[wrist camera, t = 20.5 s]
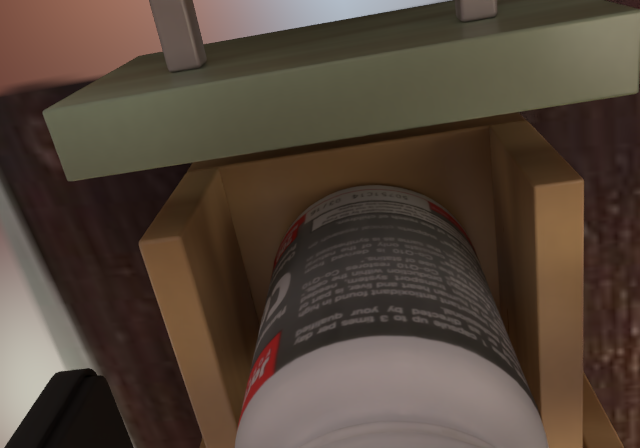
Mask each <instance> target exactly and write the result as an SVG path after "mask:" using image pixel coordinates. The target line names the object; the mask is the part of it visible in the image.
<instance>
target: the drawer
mask: <svg viewBox="0 0 640 448" xmlns="http://www.w3.org/2000/svg"><path fill="white" fill-rule="evenodd" d="M149 2H150V6H151V9H152V13H153V17H154V20H155V24H156V28H157V31H158V35H159V39H160V42H161V46H162V49H163V52H158V53H153V54H147V55H142V56H138V57H136V58H135V59H133V60H131V61H129V62H128V63H126V64H124V65H123V66H121V67H119V68H117V69H116V70H114V71H112V72H110V73H108V74H107V75H105V76H103V77H101V78H100V79H98V80H96V81H94V82H93V83H91V84H89V85H87V86H86V87H84V88H82V89H80V90H78V91H77V92H75V93H73V94H71V95H70V96H68V97H66V98H64V99H63V100H61V101H59V102H57V103H56V104H54V105H52V106H50V107H49V108H47V109H45V110H44V111H43V116H44V118H45V121H46V124H47V127H48V129H49V132H50V135H51V137H52V140H53V143H54V145H55V148H56V151H57V154H58V156H59V159H60V162H61V164H62V167H63V170H64V173H65V175H66V178H67V180H68V181H77V180H83V179H90V178H96V177H103V176H109V175H115V174H122V173H128V172H135V171H141V170H148V169H154V168H161V167H167V166H174V165H180V164H186V163H192V165H191V166H190V168H189V169H188V171H187V173H186V174H185V175H184V177H183V178H182V180H181V181H180V183H179V184H178V185H177V187H176V188H175V190H174V191H173V193H172V194H171V196H170V197H169V199H168V200H167V201H166V203H165V204H164V206H163V207H162V209H161V210H160V212H159V213H158V214H157V216H156V217H155V219H154V220H153V222H152V223H151V225H150V226H149V228H148V229H147V230H146V232H145V233H144V235H143V236H142V238H141V239H140V241H139V248H140V251H141V254H142V257H143V260H144V263H145V266H146V269H147V272H148V275H149V278H150V281H151V284H152V287H153V290H154V293H155V296H156V299H157V302H158V305H159V308H160V311H161V314H162V317H163V320H164V323H165V326H166V329H167V332H168V335H169V338H170V341H171V344H172V347H173V350H174V353H175V356H176V359H177V362H178V365H179V368H180V371H181V374H182V377H183V380H184V383H185V386H186V389H187V392H188V395H189V398H190V401H191V404H192V407H193V410H194V413H195V416H196V419H197V422H198V425H199V428H200V431H201V434H202V437H203V440H204V443H205V446H206V448H235V440H236V435H237V428H238V423H239V418H240V415H241V411H242V405H243V400H244V396H245V392H246V387H247V383H248V379H249V374H250V370H251V366H252V361H253V356H254V352H255V348H256V343H257V339H258V335H259V330H260V325H261V320H262V317H263V313H264V308H265V304H266V299H267V294H268V289H269V285H270V280H271V275H272V271H273V265H274V260H275V257H276V255H277V252H278V249H279V246H280V244H281V242H282V240H283V237H284V235H285V234H286V232H287V230H288V229H289V228H290V226H291V225H292V224H293V222H294V221H295V220H296V219H297V218H298V216H300V215H301V214H302V213H303V212H304V211H305V210H306V209H307V208H308V207H310V206H311V205H313V204H314V203H316V202H317V201H319V200H320V199H322V198H324V197H326V196H328V195H330V194H332V193H335V192H337V191H340V190H343V189H347V188H352V187H357V186H366V185H382V186H392V187H398V188H403V189H407V190H411V191H414V192H417V193H420V194H422V195H425V196H427V197H429V198H430V199H432V200H434V201H435V202H437V203H439V204H440V205H441V206H443V207H444V208H445V209H447V210H448V211H449V212H450V213H451V214H452V215H453V216H454V217H455V218H456V220H457V221H458V222H459V223H460V225H461V226H462V227H463V229H464V230H465V232H466V233H467V235H468V237H469V239H470V241H471V243H472V245H473V247H474V249H475V251H476V254H477V257H478V259H479V262H480V265H481V268H482V270H483V273H484V275H485V278H486V281H487V283H488V286H489V289H490V291H491V293H492V296H493V298H494V301H495V304H496V306H497V309H498V311H499V314H500V316H501V319H502V321H503V324H504V326H505V329H506V331H507V334H508V336H509V339H510V341H511V344H512V346H513V349H514V351H515V354H516V356H517V359H518V361H519V364H520V366H521V369H522V371H523V374H524V376H525V379H526V381H527V384H528V386H529V389H530V391H531V394H532V396H533V398H534V400H535V403H536V405H537V408H538V411H539V414H540V417H541V420H542V424H543V427H544V430H545V433H546V437H547V441H548V447H549V448H583V276H584V180H583V178H582V177H581V176H580V175H579V174H578V173H577V172H576V171H575V170H574V169H573V168H572V167H571V166H570V165H569V164H568V163H567V162H566V161H565V160H564V158H563V157H562V156H561V155H560V154H559V153H558V152H557V151H556V150H555V149H554V148H553V147H552V146H551V145H550V144H549V143H548V142H547V141H546V140H545V139H544V138H543V137H542V136H541V135H540V134H539V132H538V131H537V130H536V129H535V128H534V127H533V126H532V125H531V124H530V123H529V122H528V121H526V120H525V119H524V118H523V116H522V115H521V114H520V113H519V112H522V111H529V110H535V109H542V108H548V107H554V106H561V105H567V104H574V103H580V102H587V101H593V100H600V99H606V98H613V97H619V96H625V95H632V94H636V93H638V91H639V71H640V9H637V8H633V7H629V6H625V5H621V4H617V3H613V2H609V1H605V0H452V1H447V2H441V3H435V4H430V5H424V6H418V7H413V8H407V9H401V10H396V11H390V12H384V13H379V14H373V15H368V16H362V17H356V18H351V19H345V20H339V21H334V22H328V23H322V24H317V25H311V26H306V27H300V28H294V29H288V30H283V31H277V32H271V33H266V34H260V35H255V36H249V37H243V38H238V39H232V40H226V41H221V42H215V43H209V44H204V45H203V41H202V37H201V33H200V29H199V25H198V21H197V17H196V13H195V9H194V4H193V1H192V0H149Z"/></svg>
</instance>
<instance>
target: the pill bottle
mask: <svg viewBox="0 0 640 448" xmlns="http://www.w3.org/2000/svg"><path fill="white" fill-rule="evenodd" d="M235 448H549V447H548V441H547V437H546V433H545V430H544V427H543V424H542V420H541V417H540V414H539V411H538V408H537V405H536V403H535V400H534V398H533V396H532V394H531V391H530V389H529V386H528V384H527V381H526V379H525V376H524V374H523V371H522V369H521V366H520V364H519V361H518V359H517V356H516V354H515V351H514V349H513V346H512V344H511V341H510V339H509V336H508V334H507V331H506V329H505V326H504V324H503V321H502V319H501V316H500V314H499V311H498V309H497V306H496V304H495V301H494V298H493V296H492V293H491V291H490V289H489V286H488V283H487V281H486V278H485V275H484V273H483V270H482V268H481V265H480V262H479V259H478V257H477V254H476V251H475V249H474V247H473V245H472V243H471V241H470V239H469V237H468V235H467V233H466V232H465V230H464V229H463V227H462V226H461V225H460V223H459V222H458V221H457V220H456V218H455V217H454V216H453V215H452V214H451V213H450V212H449V211H448V210H447V209H445V208H444V207H443V206H441V205H440V204H439V203H437V202H435V201H434V200H432V199H430V198H429V197H427V196H425V195H422V194H420V193H417V192H414V191H411V190H407V189H403V188H398V187H392V186H382V185H366V186H357V187H352V188H347V189H343V190H340V191H337V192H335V193H332V194H330V195H328V196H326V197H324V198H322V199H320V200H319V201H317V202H316V203H314V204H313V205H311V206H310V207H308V208H307V209H306V210H305V211H304V212H303V213H302V214H301V215H300V216H298V218H297V219H296V220H295V221H294V222H293V224H292V225H291V226H290V228H289V229H288V230H287V232H286V234H285V235H284V237H283V240H282V242H281V244H280V246H279V249H278V252H277V255H276V257H275V260H274V265H273V271H272V275H271V280H270V285H269V289H268V294H267V299H266V304H265V308H264V313H263V317H262V320H261V325H260V330H259V335H258V339H257V343H256V348H255V352H254V356H253V361H252V366H251V370H250V374H249V379H248V383H247V387H246V392H245V396H244V400H243V405H242V411H241V415H240V418H239V423H238V428H237V435H236V440H235Z"/></svg>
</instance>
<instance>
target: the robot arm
mask: <svg viewBox="0 0 640 448" xmlns="http://www.w3.org/2000/svg"><path fill="white" fill-rule="evenodd" d="M5 448H134V447H133V445H132V442H131V440H130V437H129V435H128V432H127V430H126V427H125V425H124V422H123V420H122V417H121V415H120V412H119V410H118V407H117V405H116V402H115V400H114V397H113V395H112V392H111V390H110V387H109V385H108V382H107V380H106V379H105V378H104V377H103V376H97V374H96V372H95V371H94V370H92V369H89V368H87V369H79V370H70V371H62V372H58V373H55V375H54V376H53V377H52V378H51V380H50V381H49V382H48V384H47V385H46V387H45V388H44V390H43V391H42V393H41V394H40V396H39V397H38V399H37V400H36V402H35V403H34V404H33V406H32V407H31V409H30V411H29V412H28V413H27V415H26V416H25V418H24V419H23V421H22V422H21V424H20V425H19V427H18V428H17V430H16V431H15V433H14V434H13V436H12V437H11V439H10V440H9V442H8V443H7V445H6V446H5Z"/></svg>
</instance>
